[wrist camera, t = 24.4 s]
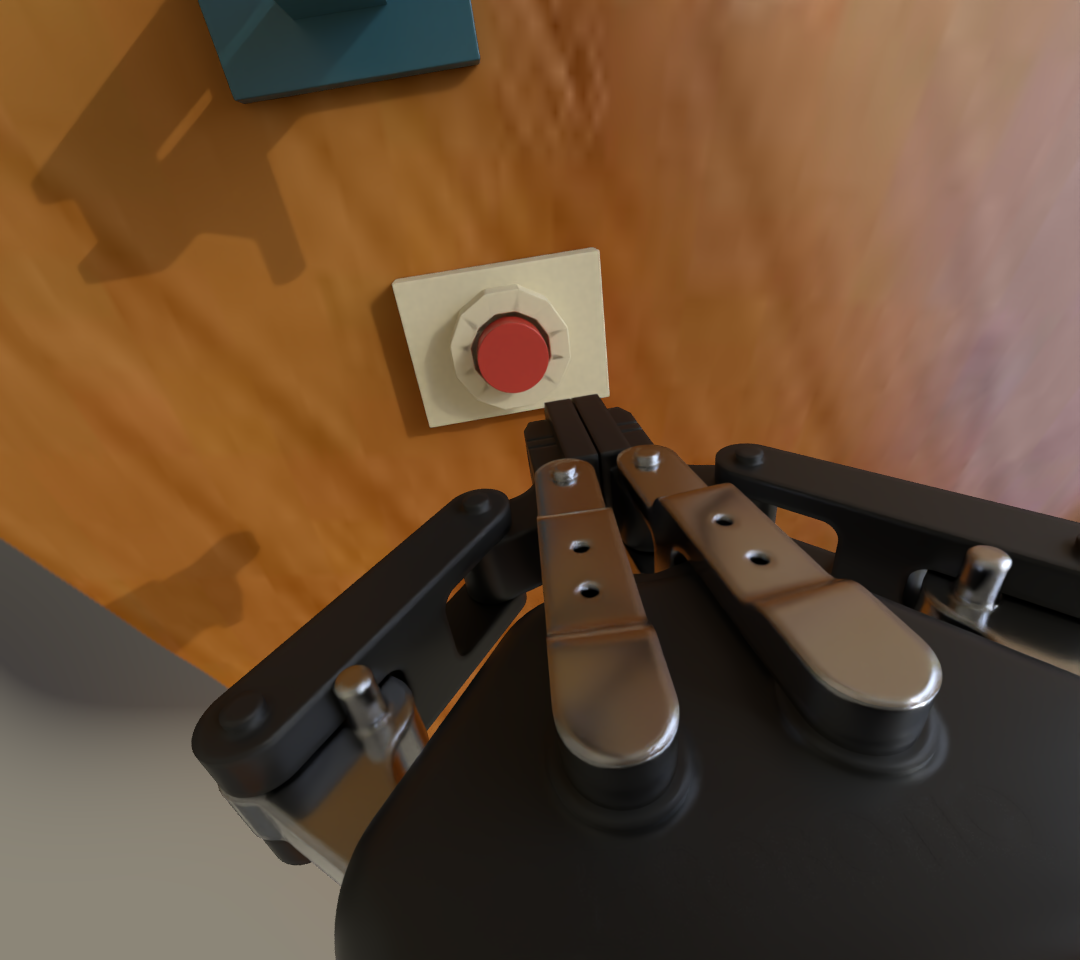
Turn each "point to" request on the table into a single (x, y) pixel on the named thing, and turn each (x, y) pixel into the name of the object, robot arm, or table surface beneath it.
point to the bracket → (335, 42)
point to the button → (512, 354)
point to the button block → (495, 292)
